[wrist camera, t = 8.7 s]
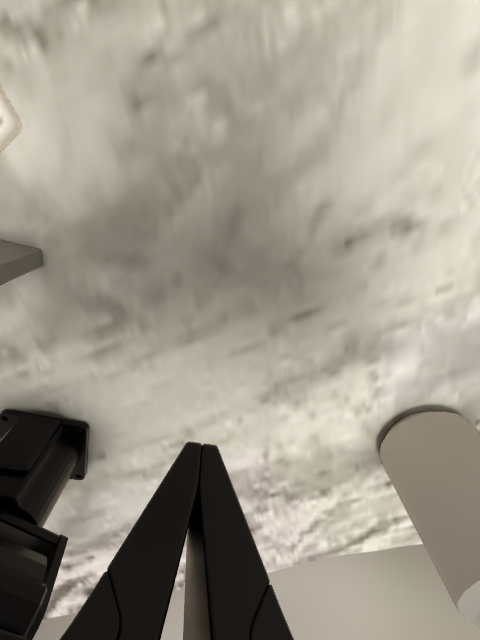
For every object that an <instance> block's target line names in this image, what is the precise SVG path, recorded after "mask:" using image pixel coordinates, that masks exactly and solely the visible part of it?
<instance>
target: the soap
mask: <svg viewBox="0 0 480 640" xmlns="http://www.w3.org/2000/svg"><path fill="white" fill-rule="evenodd" d="M20 131H21V121H20V119H19V117H18V115H17V113H16V111H15V110H14V108H13V106H12V105H11V103H10V101H9V99H8V98H7V96H6V94H5V93H4V91H3V89H2V88H1V86H0V152H1V151H2V150H3V149H4V148H5V147H6V146H7V145H9V144H10V143H11V142H12V141H13V139H14V138H15V137H16V136H17V135H18V134H19V133H20Z"/></svg>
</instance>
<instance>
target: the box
mask: <svg viewBox="0 0 480 640" xmlns="http://www.w3.org/2000/svg"><path fill="white" fill-rule="evenodd" d="M40 266H42V256H41V250H40V249H36V248H32V247H28V246H24V245H20V244H15V243H11V242H7V241H3V240H0V285H2V284H4V283H6V282H8V281H10V280H12V279H15V278H17V277H19V276H21V275H23V274H25V273H28V272H30V271H32V270H34V269H36V268H38V267H40Z"/></svg>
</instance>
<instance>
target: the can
mask: <svg viewBox="0 0 480 640" xmlns="http://www.w3.org/2000/svg"><path fill="white" fill-rule="evenodd" d="M379 455H380V459H381V462H382V464H383V466H384V468H385V470H386V472H387V474H388V476H389V478H390V480H391V482H392V484H393V486H394V488H395V490H396V492H397V494H398V496H399V497H400V499H401V501H402V503H403V505H404V507H405V509H406V511H407V513H408V515H409V517H410V519H411V521H412V523H413V525H414V527H415V529H416V531H417V532H418V534H419V536H420V538H421V540H422V542H423V544H424V546H425V548H426V550H427V552H428V554H429V556H430V558H431V560H432V562H433V563H434V566H435V567H436V569H437V571H438V573H439V575H440V577H441V579H442V581H443V583H444V585H445V587H446V589H447V591H448V593H449V595H450V597H451V599H452V601H453V602H454V604H455V606H456V608H457V610H458V612H459V613H460V614H461V615H462V616H463V617H464V618H465V619H467V620H468V621H470V622H471V623H472V624H474V625H475V626H477V627H478V628H480V432H479V431H478V430H477V429H476V428H475V427H474V426H473V425H472V424H471V423H470V422H469V421H468V420H467V419H465V418H463V417H462V416H460V415H458V414H454V413H450V412H445V411H444V412H436V411H424V412H419V413H415V414H412V415H409V416H407V417H405V418H403V419H401V420H399V421H398V422H397V423H396V424H395V425H394V426H392V427H391V428H390V430H389V431H388V433H387V434H386V437H385V439H384V440H383V442H382V443H381V448H380V452H379Z"/></svg>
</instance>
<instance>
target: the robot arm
mask: <svg viewBox="0 0 480 640" xmlns="http://www.w3.org/2000/svg"><path fill="white" fill-rule="evenodd" d="M88 435H89V427H88V425H86V424H85V423H81V422H75V421H69V420H63V419H57V418H51V417H46V416H40V415H34V414H28V413H22V412H16V411H10V410H3V411H2V412H1V413H0V640H32V639H33V637H34V635H35V633H36V632H37V630H38V628H39V625H40V623H41V621H42V619H43V617H44V614H45V612H46V609H47V606H48V603H49V600H50V596H51V593H52V590H53V587H54V583H55V580H56V577H57V574H58V570H59V567H60V564H61V560H62V557H63V554H64V551H65V547H66V544H67V541H68V537H66V536H63V535H57V534H55V533H53V532H51V531H49V530H47V529H44V528H42V527H43V526H44V524H45V522H46V520H47V518H48V517H49V515H50V513H51V511H52V509H53V507H54V506H55V504H56V502H57V500H58V498H59V496H60V495H61V493H62V491H63V489H64V487H65V485H66V484H67V482H68V480H69V479H75V480H83V479H84V478H85V476H86V473H87V455H88ZM187 531H188V533H187ZM186 535H187V552H186V578H185V605H184V632H183V640H294V639H293V637H292V634H291V632H290V629H289V627H288V624H287V622H286V620H285V617H284V615H283V613H282V610H281V608H280V606H279V603H278V600H277V598H276V595H275V592H274V590H273V587H272V585H269V582H270V581H269V578H268V575H267V572H266V570H265V567H264V565H263V562H262V560H261V557H260V554H259V552H258V549H257V547H256V544H255V542H254V539H253V536H252V534H251V531H250V529H249V526H248V524H247V521H246V519H245V516H244V513H243V511H242V508H241V506H240V503H239V501H238V498H237V495H236V493H235V490H234V488H233V485H232V483H231V480H230V477H229V475H228V472H227V470H226V467H225V465H224V462H223V460H222V457H221V454H220V452H219V449H218V447H217V446H216V445H211V444H203V445H201V443H197V442H187V443H186V444H185V446H184V447H183V449H182V451H181V452H180V454H179V455H178V457H177V459H176V460H175V462H174V463H173V465H172V466H171V468H170V470H169V471H168V473H167V474H166V476H165V478H164V479H163V481H162V482H161V484H160V485H159V487H158V489H157V490H156V492H155V493H154V495H153V497H152V498H151V500H150V501H149V503H148V505H147V506H146V508H145V509H144V511H143V512H142V514H141V516H140V517H139V519H138V520H137V522H136V524H135V525H134V527H133V528H132V530H131V532H130V533H129V535H128V536H127V538H126V539H125V541H124V543H123V544H122V546H121V547H120V549H119V551H118V552H117V554H116V555H115V557H114V559H113V560H112V562H111V563H110V565H109V566H108V569H107V571H106V572H105V573H104V574H103V576H102V577H101V579H100V580H99V582H98V583H97V585H96V587H95V588H94V590H93V591H92V593H91V594H90V596H89V597H88V599H87V600H86V602H85V604H84V605H83V607H82V608H81V610H80V611H79V613H78V614H77V616H76V617H75V619H74V620H73V622H72V623H71V625H70V626H69V627H68V629H67V630H66V632H65V633H64V634H63V636H62V637H61V639H60V640H160V638H161V634H162V630H163V626H164V622H165V618H166V614H167V611H168V607H169V603H170V598H171V594H172V591H173V587H174V583H175V579H176V575H177V571H178V567H179V563H180V559H181V555H182V551H183V547H184V543H185V539H186Z"/></svg>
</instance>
